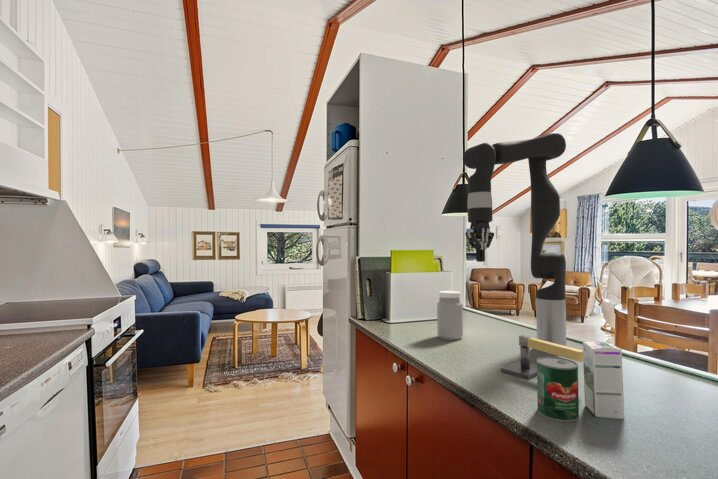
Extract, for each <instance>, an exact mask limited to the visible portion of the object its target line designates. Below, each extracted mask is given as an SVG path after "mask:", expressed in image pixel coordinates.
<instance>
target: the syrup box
mask: <svg viewBox="0 0 718 479" xmlns="http://www.w3.org/2000/svg"><path fill="white" fill-rule="evenodd" d="M582 350H583V361H582V362H583V381H584V382H583V386H584V388H583V389H584V406H585V407H586V408H587V410H588V411H590V413H591V414H592V415H593V416H594V417H597V418H604V419H616V420H617V419H618V420H624V419H625V399H624V398H625V396H624V394H625V393H624V377H623V376H624V374H623V373H624V372H623V355H622V354H623V353H622V352H623V351H622V348H620V347H618V346H616V345H615V344H612V343H610V342H606V341H582Z"/></svg>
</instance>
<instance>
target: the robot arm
mask: <svg viewBox="0 0 718 479" xmlns="http://www.w3.org/2000/svg"><path fill="white" fill-rule="evenodd" d="M565 139H566V138H565V137H564V136H563V135H562V134H561V133H559V132H554V131H552V132H547V133H545V134H541V135H539V136H535V137H533V138H529V139H522V140H520V139H519V140H512V141H502V142H497V143H494V144H491V143H490V142H482V143H480V144H477V145H474V146H471V147H469V148H467V149H466V150H465V151H464V152H463V155H462V162H463V164H464V166H465V167H466V168H469V169H471V170H475V171H474V173H473V174H472V175H470V176H469V178H467V179H468V180H467V191H468V192H467V222H468V223H470V226H469V229H470V230H469V231H466V232H465V236H466V239H467V241H468V242H469V245H470V247H471V248H472V249H474V250H475V259H476V262H478V263H479V262H480V263H482V262H485V261H486V250H487V248H490V246H491V244H492V241H493V239H494V236H495V232H492V231H491V226H490V223H492V221H493V198H492V177H493V174H494V170H495V165H505V164H509V163H511V164H512V163H516V162H519V161H523V160H526V159H527V162H528V167H529V168H528V169H529V178H530V216H531V218H530V220H531V221H530V222H531V250H530V274H531V275H532V278H534V279H539V280H541V279H542V280H543V279H544V280H553V283H551V284H550V285H548V286H546V287H541V288H538V289H536V291H535V308H536V309H535V310H536V312H535V313H536V339H540V340H543V341H547V342H551V343H555V344H559V345H563V346H567V311H566V309H567V308H566V306H567V305H566V302H567V301H566V274H567V273H566V272H567V265H566V264H567V260H566V256H565V255H564V254H563V253H561V252H543V248H544V243H545V241H546V239H547V238H548V237H547V236H548V235H549V234H550V232H551V231H552V229H553V228H554V226H555V225H556V223H557V221H558V220H559V218H560V216H561V203H560V202H561V198H560V193H559V192H558V190H557V189H556V187H555V186H554V185H553V183H552V181H551V180H550V178H549V175H548V172H547V161H551V160H554V159H557V158H559V157H561V156H562V155H563V154H565V151H566V149H567V142H566V140H565Z"/></svg>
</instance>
